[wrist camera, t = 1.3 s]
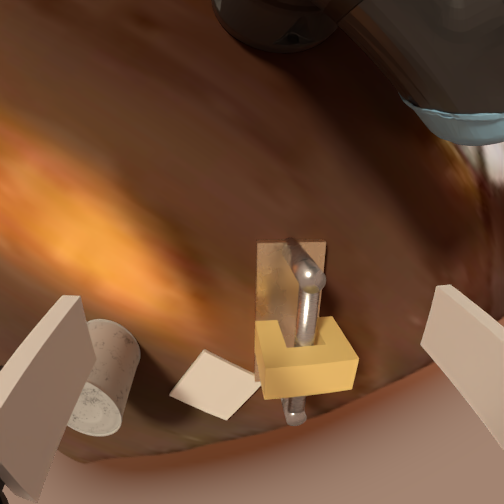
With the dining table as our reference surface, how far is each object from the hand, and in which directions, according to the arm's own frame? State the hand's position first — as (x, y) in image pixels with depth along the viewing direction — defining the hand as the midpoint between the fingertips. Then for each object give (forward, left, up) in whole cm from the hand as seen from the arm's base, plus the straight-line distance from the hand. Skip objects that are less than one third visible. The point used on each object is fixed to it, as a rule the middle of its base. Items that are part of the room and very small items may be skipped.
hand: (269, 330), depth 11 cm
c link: (+8, +14, -22) cm, 27 cm away
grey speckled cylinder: (+26, -3, -27) cm, 37 cm away
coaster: (+23, +13, -26) cm, 37 cm away
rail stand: (+8, +14, -26) cm, 31 cm away
